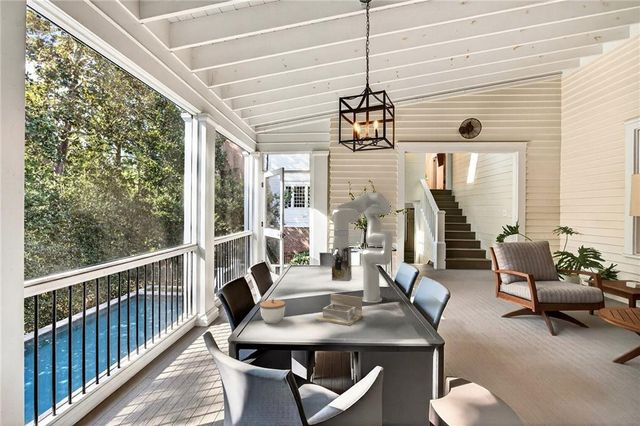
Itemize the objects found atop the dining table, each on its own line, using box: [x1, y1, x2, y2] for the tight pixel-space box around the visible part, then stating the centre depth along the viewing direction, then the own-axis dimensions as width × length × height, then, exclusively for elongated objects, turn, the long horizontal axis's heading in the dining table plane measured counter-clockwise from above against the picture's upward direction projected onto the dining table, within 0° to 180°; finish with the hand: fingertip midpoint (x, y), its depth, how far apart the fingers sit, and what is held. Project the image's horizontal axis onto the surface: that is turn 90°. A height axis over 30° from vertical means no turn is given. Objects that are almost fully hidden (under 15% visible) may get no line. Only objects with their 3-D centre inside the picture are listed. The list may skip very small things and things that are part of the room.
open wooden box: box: [315, 293, 363, 327], centre depth 184 cm, size 16×18×10 cm
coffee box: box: [330, 247, 352, 282], centre depth 183 cm, size 9×6×16 cm
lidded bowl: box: [259, 298, 286, 324], centre depth 180 cm, size 13×13×11 cm
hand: (341, 268), depth 183 cm, fingers closed on coffee box, 7 cm apart
